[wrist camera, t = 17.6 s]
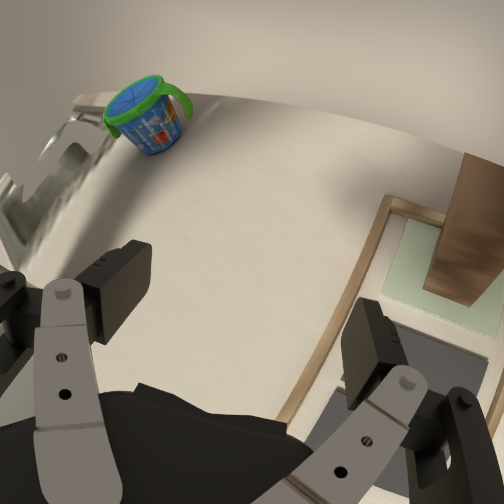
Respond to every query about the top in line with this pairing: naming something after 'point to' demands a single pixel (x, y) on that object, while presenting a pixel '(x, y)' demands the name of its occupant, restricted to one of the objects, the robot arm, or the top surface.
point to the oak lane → (389, 204)
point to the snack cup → (147, 114)
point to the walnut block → (470, 235)
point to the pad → (411, 293)
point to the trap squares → (438, 379)
